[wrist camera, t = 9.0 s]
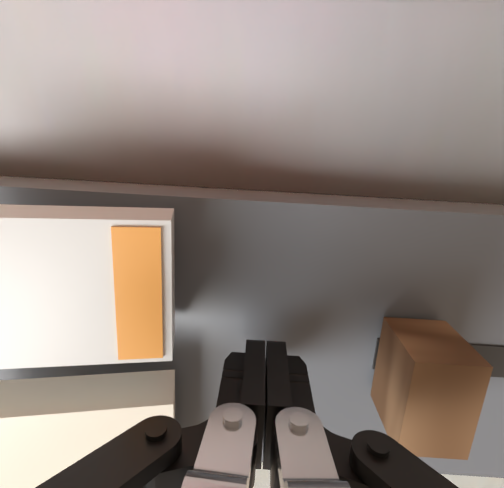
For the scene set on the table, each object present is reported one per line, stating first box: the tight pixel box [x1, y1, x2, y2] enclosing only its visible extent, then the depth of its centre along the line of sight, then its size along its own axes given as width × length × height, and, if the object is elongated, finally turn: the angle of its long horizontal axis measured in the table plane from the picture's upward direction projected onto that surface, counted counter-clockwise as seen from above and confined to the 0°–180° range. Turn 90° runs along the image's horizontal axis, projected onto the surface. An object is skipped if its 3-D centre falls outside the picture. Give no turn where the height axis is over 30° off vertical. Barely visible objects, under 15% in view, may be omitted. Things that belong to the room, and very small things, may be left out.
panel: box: [0, 176, 504, 478], centre depth 16 cm, size 28×12×3 cm, turn 87°
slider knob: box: [370, 317, 493, 460], centre depth 13 cm, size 2×4×3 cm, turn 177°
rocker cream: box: [0, 370, 175, 488], centre depth 13 cm, size 9×5×2 cm, turn 87°
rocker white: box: [0, 204, 175, 369], centre depth 11 cm, size 9×5×2 cm, turn 87°
